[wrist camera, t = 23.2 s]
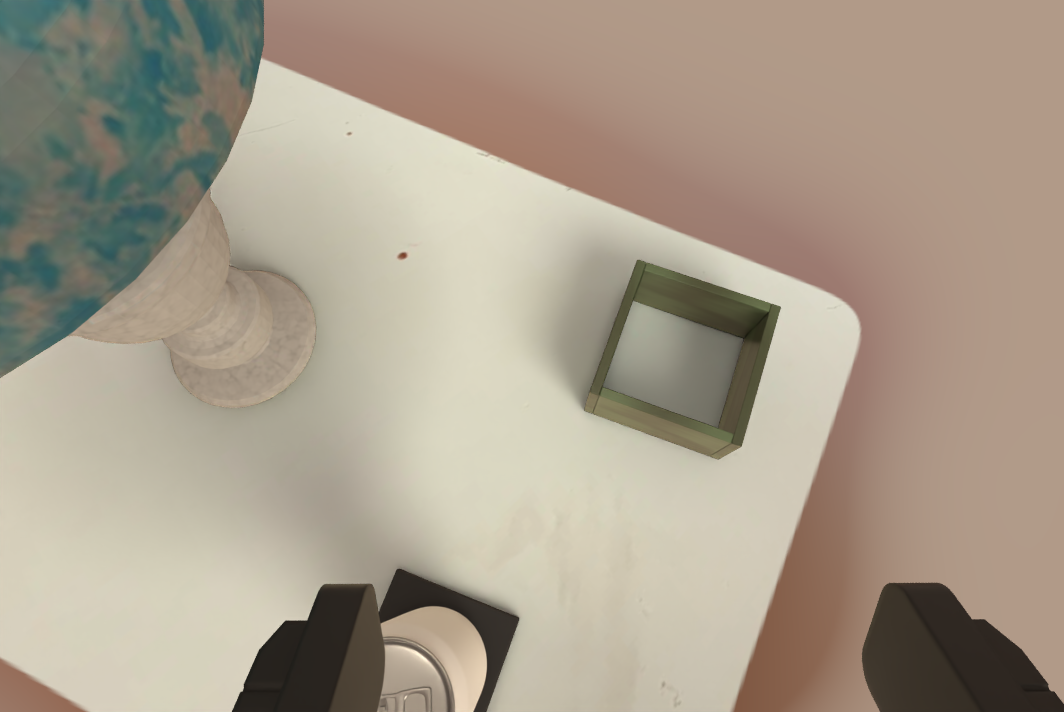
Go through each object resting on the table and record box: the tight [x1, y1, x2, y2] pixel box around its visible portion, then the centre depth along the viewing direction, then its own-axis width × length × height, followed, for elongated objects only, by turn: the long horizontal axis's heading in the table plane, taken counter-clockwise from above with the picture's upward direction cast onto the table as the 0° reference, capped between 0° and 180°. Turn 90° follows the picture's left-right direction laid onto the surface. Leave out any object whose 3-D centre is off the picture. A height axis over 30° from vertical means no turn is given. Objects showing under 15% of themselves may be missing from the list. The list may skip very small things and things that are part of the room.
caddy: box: [584, 260, 781, 459], centre depth 41 cm, size 9×9×5 cm
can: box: [377, 606, 487, 712], centre depth 32 cm, size 6×6×12 cm
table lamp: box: [0, 0, 316, 408], centre depth 25 cm, size 24×24×40 cm
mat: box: [379, 569, 519, 712], centre depth 38 cm, size 8×8×1 cm
